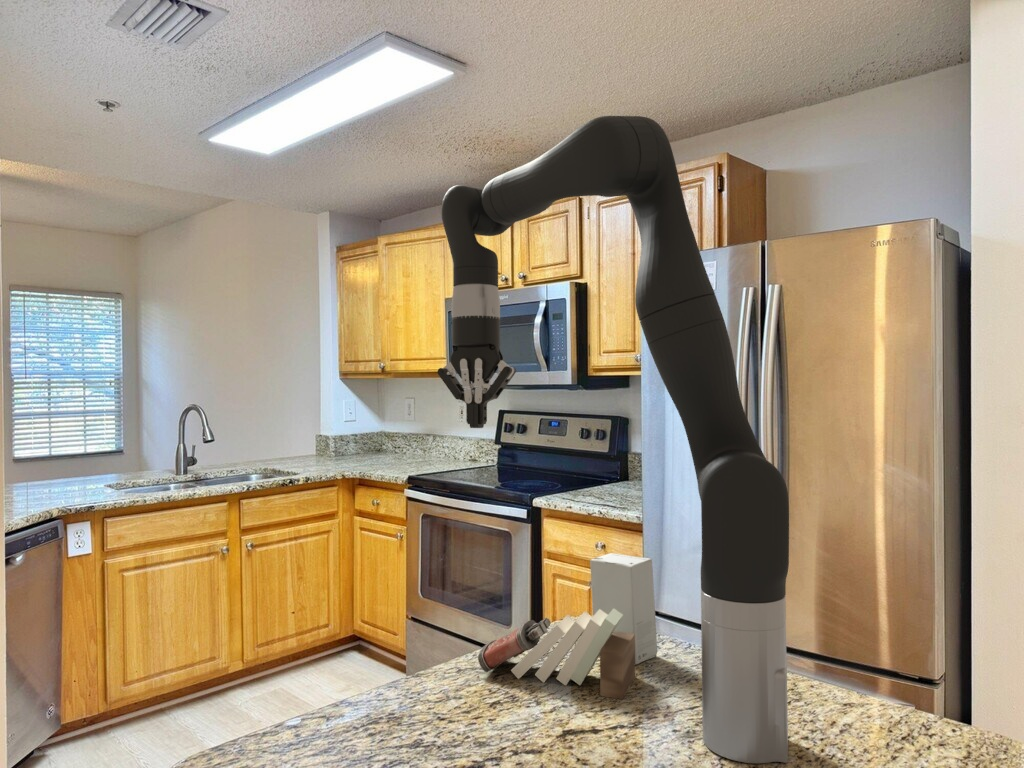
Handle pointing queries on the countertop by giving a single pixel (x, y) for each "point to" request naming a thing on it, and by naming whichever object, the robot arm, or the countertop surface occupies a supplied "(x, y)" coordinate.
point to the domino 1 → (543, 646)
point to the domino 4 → (596, 646)
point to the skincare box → (627, 598)
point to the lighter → (512, 644)
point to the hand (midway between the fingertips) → (476, 427)
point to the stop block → (617, 665)
